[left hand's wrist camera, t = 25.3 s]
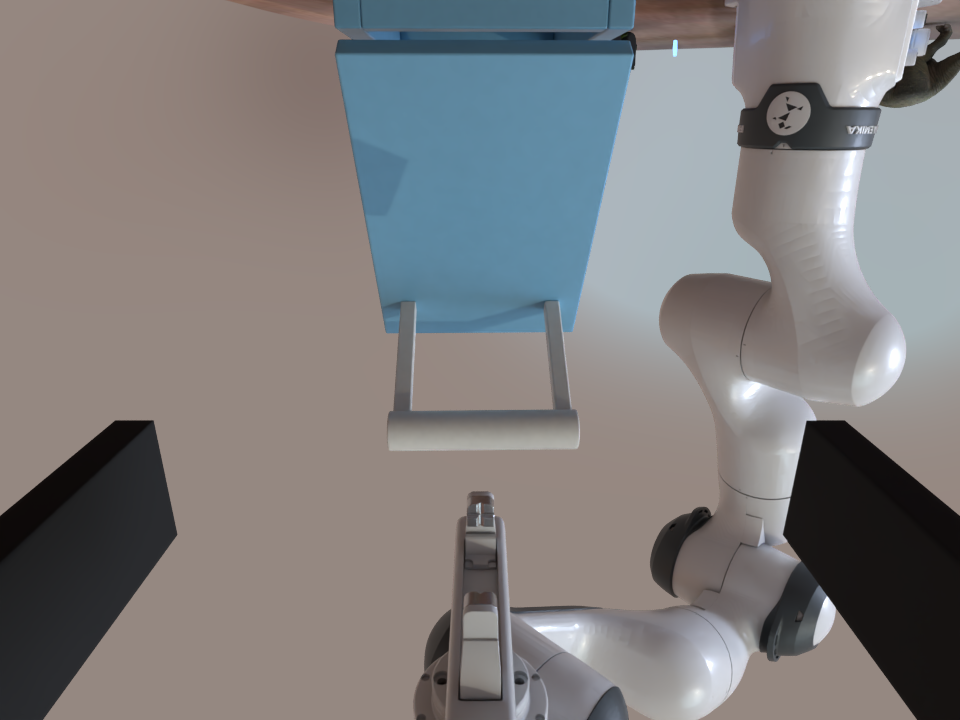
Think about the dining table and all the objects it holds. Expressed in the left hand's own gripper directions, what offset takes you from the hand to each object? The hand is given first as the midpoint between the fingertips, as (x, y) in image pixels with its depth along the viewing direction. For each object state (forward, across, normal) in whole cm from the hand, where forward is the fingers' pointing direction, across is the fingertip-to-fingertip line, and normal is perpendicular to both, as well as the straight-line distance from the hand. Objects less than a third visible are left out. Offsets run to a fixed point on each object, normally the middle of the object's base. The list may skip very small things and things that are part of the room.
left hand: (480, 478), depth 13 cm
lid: (+16, 0, -3) cm, 16 cm away
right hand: (+19, 0, +16) cm, 25 cm away
